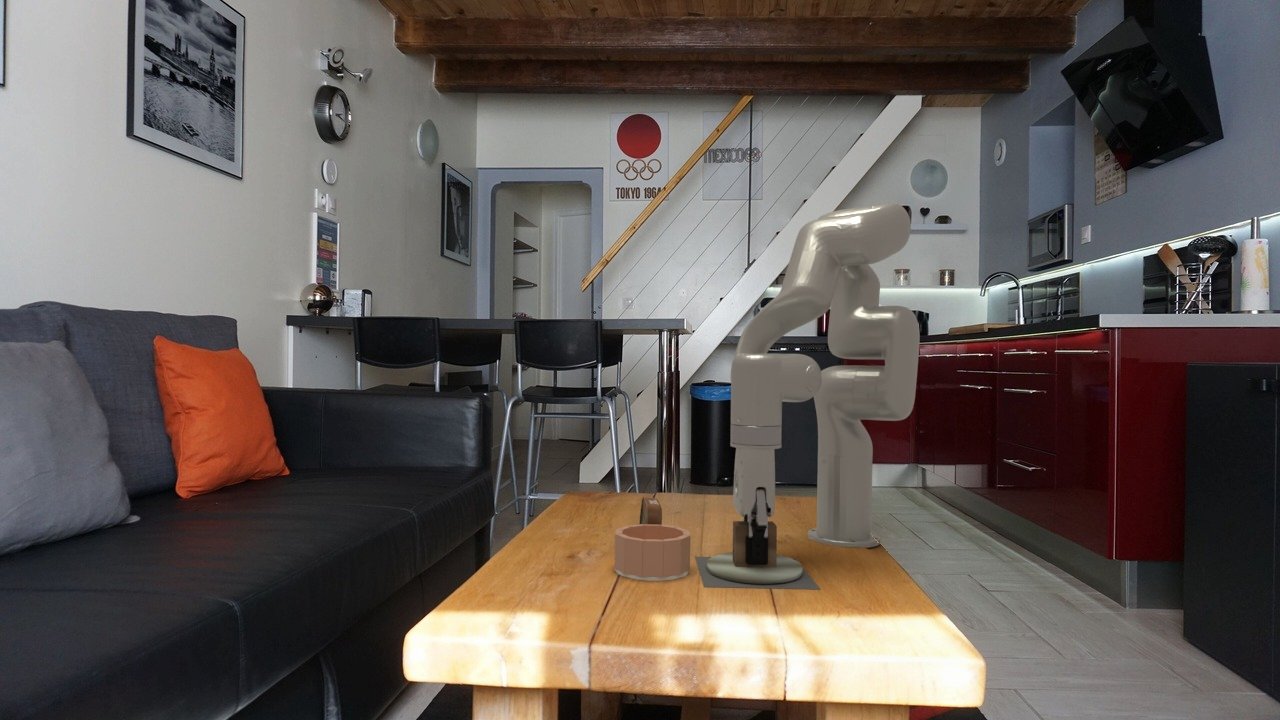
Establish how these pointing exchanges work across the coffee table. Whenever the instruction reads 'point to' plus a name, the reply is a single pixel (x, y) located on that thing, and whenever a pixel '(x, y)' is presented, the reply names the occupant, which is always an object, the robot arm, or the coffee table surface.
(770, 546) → the lid
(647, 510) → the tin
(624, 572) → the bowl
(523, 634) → the coffee table surface
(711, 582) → the mat
